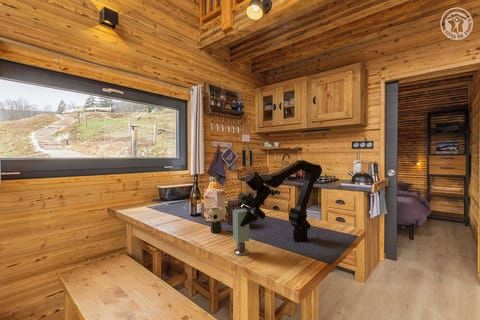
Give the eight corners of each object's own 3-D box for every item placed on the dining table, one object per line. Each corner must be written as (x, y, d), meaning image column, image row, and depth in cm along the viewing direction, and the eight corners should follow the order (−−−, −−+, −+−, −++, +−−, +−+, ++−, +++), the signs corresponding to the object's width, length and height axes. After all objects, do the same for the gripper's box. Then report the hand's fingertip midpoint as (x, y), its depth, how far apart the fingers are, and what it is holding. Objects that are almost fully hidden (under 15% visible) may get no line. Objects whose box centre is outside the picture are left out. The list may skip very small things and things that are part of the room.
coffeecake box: (203, 217, 155) (203, 189, 154) (212, 215, 160) (211, 187, 159) (217, 221, 144) (216, 191, 144) (225, 219, 149) (225, 190, 149)
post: (244, 248, 103) (244, 238, 103) (251, 253, 97) (250, 243, 97) (231, 250, 100) (231, 241, 100) (237, 256, 94) (237, 246, 94)
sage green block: (244, 236, 102) (243, 208, 102) (249, 240, 97) (248, 211, 97) (233, 238, 100) (232, 209, 100) (238, 243, 95) (237, 212, 95)
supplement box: (233, 227, 131) (233, 201, 131) (227, 226, 134) (227, 200, 134) (242, 224, 138) (242, 198, 138) (236, 222, 141) (236, 197, 141)
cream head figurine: (204, 232, 125) (204, 209, 125) (212, 228, 131) (211, 206, 131) (220, 235, 120) (220, 211, 119) (227, 231, 126) (227, 208, 126)
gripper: (239, 183, 108) (218, 208, 104) (258, 188, 91) (234, 218, 87) (254, 197, 111) (234, 222, 107) (275, 205, 94) (252, 235, 90)
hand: (238, 224), depth 98 cm, fingers closed on sage green block, 5 cm apart
